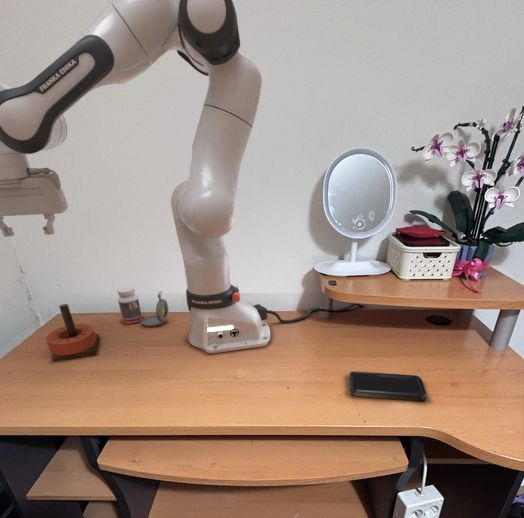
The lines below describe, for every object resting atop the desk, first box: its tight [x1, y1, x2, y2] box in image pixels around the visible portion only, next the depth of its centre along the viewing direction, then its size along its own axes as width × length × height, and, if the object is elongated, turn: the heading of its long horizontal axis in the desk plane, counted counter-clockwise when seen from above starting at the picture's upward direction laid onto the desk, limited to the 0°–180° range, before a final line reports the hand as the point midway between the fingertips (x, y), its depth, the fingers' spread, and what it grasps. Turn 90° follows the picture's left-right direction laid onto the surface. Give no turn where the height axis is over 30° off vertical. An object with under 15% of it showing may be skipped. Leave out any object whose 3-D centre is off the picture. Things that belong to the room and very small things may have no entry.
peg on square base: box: [51, 303, 100, 362], centre depth 97 cm, size 10×10×12 cm
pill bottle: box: [117, 286, 143, 325], centre depth 112 cm, size 6×6×10 cm
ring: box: [44, 323, 97, 355], centre depth 98 cm, size 11×11×3 cm
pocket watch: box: [140, 291, 169, 328], centre depth 109 cm, size 8×8×10 cm
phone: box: [348, 370, 427, 402], centre depth 80 cm, size 8×1×15 cm
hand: (29, 235), depth 88 cm, fingers open, 8 cm apart
